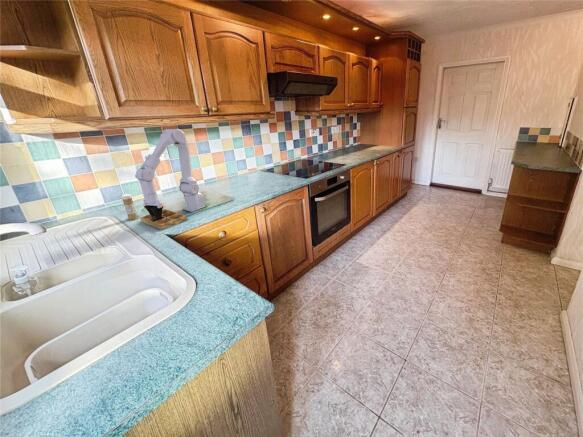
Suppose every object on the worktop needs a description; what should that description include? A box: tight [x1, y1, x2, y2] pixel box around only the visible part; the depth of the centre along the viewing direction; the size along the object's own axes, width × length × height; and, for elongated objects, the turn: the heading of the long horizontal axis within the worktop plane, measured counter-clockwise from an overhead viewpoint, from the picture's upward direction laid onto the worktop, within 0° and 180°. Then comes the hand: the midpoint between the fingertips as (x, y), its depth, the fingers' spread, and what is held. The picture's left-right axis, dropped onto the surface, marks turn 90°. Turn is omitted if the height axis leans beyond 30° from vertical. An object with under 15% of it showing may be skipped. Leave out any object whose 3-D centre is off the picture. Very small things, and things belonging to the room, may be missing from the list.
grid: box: [140, 208, 188, 231], centre depth 134 cm, size 14×20×2 cm
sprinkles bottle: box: [120, 193, 139, 221], centre depth 137 cm, size 5×5×14 cm
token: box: [151, 214, 158, 222], centre depth 131 cm, size 4×4×4 cm
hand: (156, 218), depth 131 cm, fingers closed on token, 4 cm apart
